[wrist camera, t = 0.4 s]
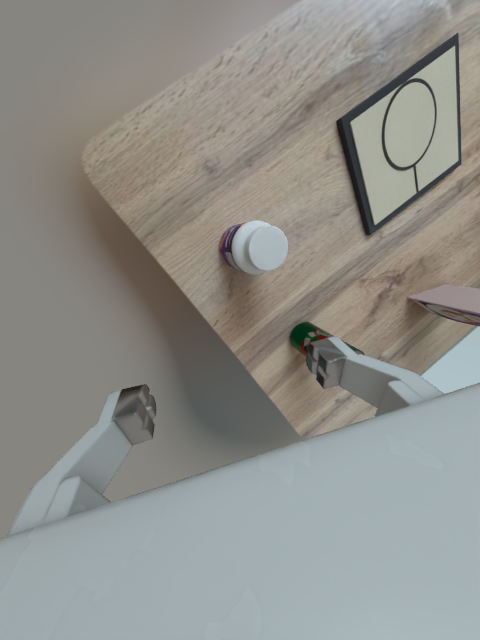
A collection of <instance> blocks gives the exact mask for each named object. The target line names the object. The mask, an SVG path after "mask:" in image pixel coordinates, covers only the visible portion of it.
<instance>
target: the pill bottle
mask: <svg viewBox="0 0 480 640" xmlns="http://www.w3.org/2000/svg"><path fill="white" fill-rule="evenodd" d="M287 252H288V242H287V239H286V236H285V234H284V233H283V232H282V231H281V230H280V229H279V228H277V227H275V226H271V225H270V224H268V223H266V222H263V221H250V222H246V223H242V224H238V225H234V226H232V227H230V228H228V229H227V230H226V231H225V232H224V233H223V234H222V236H221V238H220V241H219V253H220V256H221V258H222V260H223V261H224V262H225V263H226V264H227V265H229V266H230V267H232V268H235V269H237V270H240V271H243V272H245V273H248V274H253V275H258V274H263V273H265V272H267V271H271V270H274V269H276V268H278V267H279V266H280V265H281V264H282V263H283V262H284V260H285V258H286V256H287Z"/></svg>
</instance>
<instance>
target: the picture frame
mask: <svg viewBox="0 0 480 640" xmlns="http://www.w3.org/2000/svg"><path fill="white" fill-rule="evenodd" d="M337 125H338V129H339V132H340V136H341V140H342V144H343V148H344V151H345V155H346V159H347V163H348V167H349V170H350V174H351V178H352V182H353V186H354V190H355V193H356V197H357V201H358V205H359V209H360V212H361V216H362V220H363V224H364V228H365V231H366V235H371V234H372V233H373V232H375V231H376V230H377V229H379V228H380V227H381V226H382V225H384V224H385V223H386V222H388V221H389V220H390V219H391V218H393V217H394V216H395V215H397V214H398V213H399V212H400V211H402V210H403V209H404V208H406V207H407V206H408V205H409V204H411V203H412V202H413V201H415V200H416V199H417V198H418V197H420V196H421V195H422V194H424V193H425V192H426V191H427V190H429V189H430V188H431V187H433V186H434V185H435V184H436V183H438V182H439V181H440V180H442V179H443V178H444V177H445V176H447V175H448V174H449V173H451V172H452V171H453V170H454V169H456V168H457V167H458V166H460V165H461V127H460V85H459V42H458V33H457V34H456V35H454V36H453V37H451V38H450V39H449V40H447V41H446V42H445V43H443V44H442V45H440V46H439V47H438V48H436V49H435V50H434V51H432V52H431V53H429V54H428V55H427V56H425V57H424V58H423V59H421V60H420V61H418V62H417V63H416V64H414V65H413V66H412V67H410V68H409V69H408V70H406V71H405V72H403V73H402V74H401V75H399V76H398V77H397V78H395V79H394V80H392V81H391V82H390V83H388V84H387V85H386V86H384V87H383V88H381V89H380V90H379V91H377V92H376V93H375V94H373V95H372V96H370V97H369V98H368V99H366V100H365V101H364V102H362V103H361V104H359V105H358V106H357V107H355V108H354V109H353V110H351V111H350V112H349V113H347V114H346V115H344V116H343V117H342V118H340V119H339V120H338V121H337Z"/></svg>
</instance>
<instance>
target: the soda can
mask: <svg viewBox="0 0 480 640" xmlns="http://www.w3.org/2000/svg"><path fill="white" fill-rule="evenodd" d="M329 337H333V335H331V334H329V333H328V332H326V331H324V330H322V329H320V328H319V327H317V326H315V325H313V324H311V323H309V322H303V323H300V324H299V325H297V326H296V327H295V328H294V329H293V331H292V333H291V336H290V341H291V344H292V346H293V347H294V348H296V349H297V350H298V351H299V352H301V353H302V354H303V355H304V356H306V355H307V354H308V352H309V351H308V350H307V344H308V343H310V342H314V341H318V340H322V339H326V338H329ZM341 341H342V340H341ZM343 342H344V341H343ZM344 343H345V344H346V345H347V346H348V347H349V348H351V349H352V350H353V351H354V352H355V353H356V354H358V355H359V354H362V355H365V354H364V353H363V352H362V351H360V350H359V349H357V348H355V347H353V346H351V345H349V344H348V343H346V342H344Z"/></svg>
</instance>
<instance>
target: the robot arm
mask: <svg viewBox="0 0 480 640" xmlns="http://www.w3.org/2000/svg"><path fill="white" fill-rule="evenodd" d="M307 350H308V351H309V352H308V354H307V355H306V363H307V366H308V368H309V370H310V371H311V373H313V374H315V375H317V378H316V379H317V381H318V382H319V383H320V385H321V386H322V387H323V389H326V388H330V387H334V386H338V385H340V386H341V387H342V388H344V389H346V390H347V391H349V392H351V393H353V394H354V395H356V396H358V397H359V398H361V399H363V400H365V401H366V402H368V403H370V404H371V405H373V406H375V407H377V408H378V409H377V412H376V414H375V417H373V418H370V419H367V420H363V421H360V422H357V423H354V424H351V425H348V426H345V427H342V428H339V429H336V430H333V431H330V432H327V433H323V434H320V435H317V436H314V437H311V438H308V439H305V440H302V441H299V442H296V443H293V444H290V445H287V446H283V447H281V448H277V449H275V450H271V451H268V452H265V453H262V454H259V455H256V456H253V457H250V458H247V459H244V460H240V461H238V462H234V463H231V464H228V465H225V466H222V467H219V468H216V469H213V470H210V471H207V472H204V473H201V474H197V475H195V476H191V477H188V478H185V479H182V480H179V481H176V482H173V483H170V484H167V485H164V486H161V487H158V488H155V489H151V490H148V491H145V492H142V493H139V494H136V495H133V496H130V497H127V498H124V499H121V500H118V501H115V502H110V501H109V500H108V499H107V498H105V497H104V496H103V495H102V494H103V492H104V491H105V489H106V488H107V486H108V485H109V483H110V481H111V480H112V478H113V477H114V475H115V474H116V472H117V470H118V469H119V467H120V466H121V464H122V463H123V461H124V459H125V458H126V456H127V455H128V453H129V452H130V450H131V448H132V447H133V446H132V445H135V444H138V443H141V442H144V441H147V440H150V439H152V438H153V432H154V423H153V421H152V420H153V419H154V417H155V416H156V403H155V400H154V397H153V396H152V395H150V394H149V388H148V386H147V385H145V384H144V385H140V386H135V387H131V388H127V389H123V390H119V391H115V392H111V393H110V394H109V395H108V397H107V399H106V402H105V405H104V407H103V410H102V412H101V415H100V417H99V420H98V422H97V425H96V426H93V427H92V428H91V429H90V430H89V431H88V432H87V433H86V434H85V435H84V436H83V437H82V438H81V439H80V440H79V441H78V442H77V443H76V444H75V445H74V446H73V447H72V448H71V449H70V450H69V451H68V452H67V453H66V454H65V455H64V456H63V457H62V458H61V459H60V460H59V461H58V462H57V463H56V464H55V465H54V466H53V467H52V468H51V469H50V470H49V471H48V472H47V473H46V474H45V475H44V476H43V477H42V478H41V479H40V480H39V481H38V482H37V483H36V484H35V485H34V486H33V487H32V488H31V490H30V492H29V494H28V496H27V498H26V500H25V502H24V504H23V505H22V507H21V509H20V511H19V513H18V515H17V517H16V519H15V520H14V522H13V524H12V526H11V528H10V530H9V532H8V534H7V535H6V537H4V538H1V539H0V640H480V383H477V384H474V385H471V386H468V387H465V388H462V389H459V390H456V391H453V392H450V393H446V394H444V393H443V392H441V391H440V390H438V389H437V388H436V387H435V386H433V385H432V384H430V383H429V382H428V381H426V380H425V379H424V378H422V377H421V376H420V375H418V374H417V373H415V372H412V371H409V370H406V369H403V368H400V367H397V366H394V365H391V364H388V363H385V362H382V361H379V360H377V359H374V358H371V357H368V356H365V355H362V354H359V355H358V354H356V353H355V352H354V351H353V350H352V349H351V348H349V347H348V346H347V345H346V344H345V343H344V342H343V341H341V340H340V339H339V338H338V337H336V336H333V337H329V338H326V339H322V340H318V341H314V342H310V343H308V344H307Z"/></svg>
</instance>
